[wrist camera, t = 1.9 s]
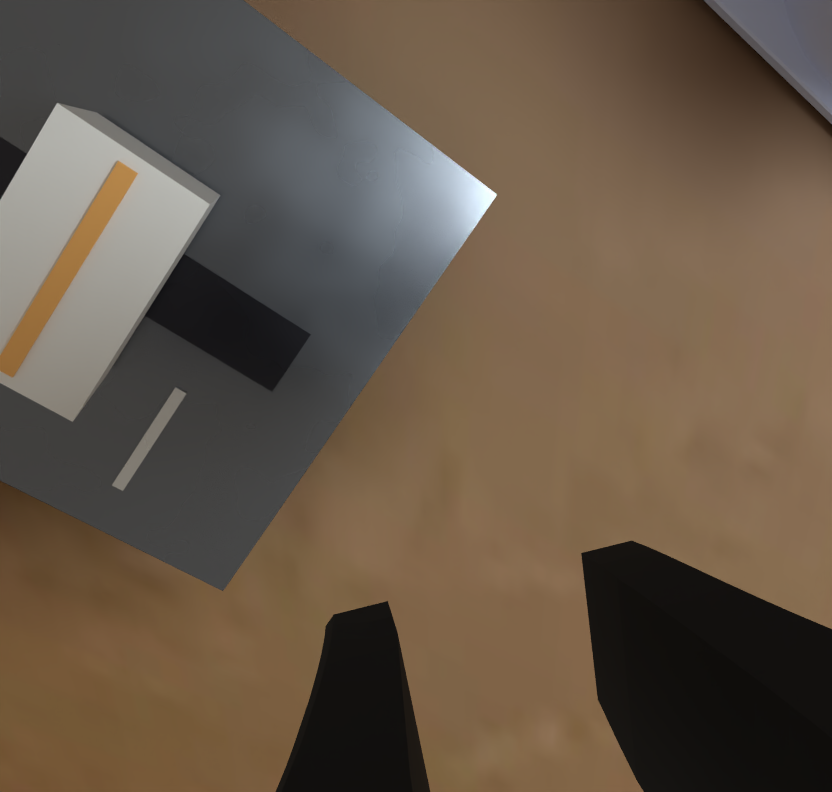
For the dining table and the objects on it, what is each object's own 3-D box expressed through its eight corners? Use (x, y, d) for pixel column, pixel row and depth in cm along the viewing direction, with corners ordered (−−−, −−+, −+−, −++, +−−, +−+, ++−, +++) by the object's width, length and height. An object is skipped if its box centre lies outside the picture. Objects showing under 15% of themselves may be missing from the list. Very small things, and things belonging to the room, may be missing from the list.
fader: (220, 195, 14) (209, 204, 12) (106, 375, 15) (71, 423, 12) (97, 112, 13) (55, 102, 11) (-19, 305, 14) (-84, 340, 11)
